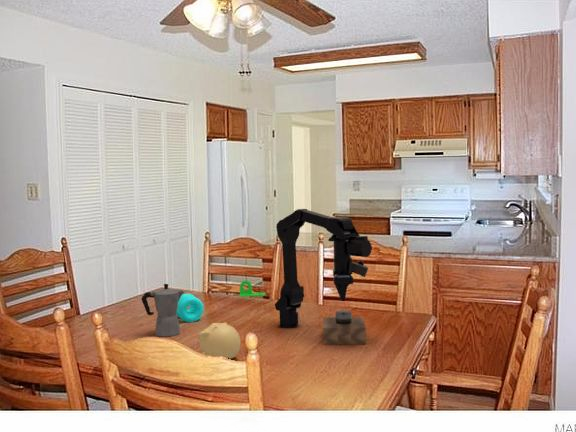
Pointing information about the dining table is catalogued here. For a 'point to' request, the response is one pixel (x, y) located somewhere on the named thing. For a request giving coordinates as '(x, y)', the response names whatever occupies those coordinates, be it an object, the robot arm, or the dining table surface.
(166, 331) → the coffeepot
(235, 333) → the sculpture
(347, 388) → the dining table surface
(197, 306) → the donuts
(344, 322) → the steel pin
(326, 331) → the block
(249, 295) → the mechanical part
